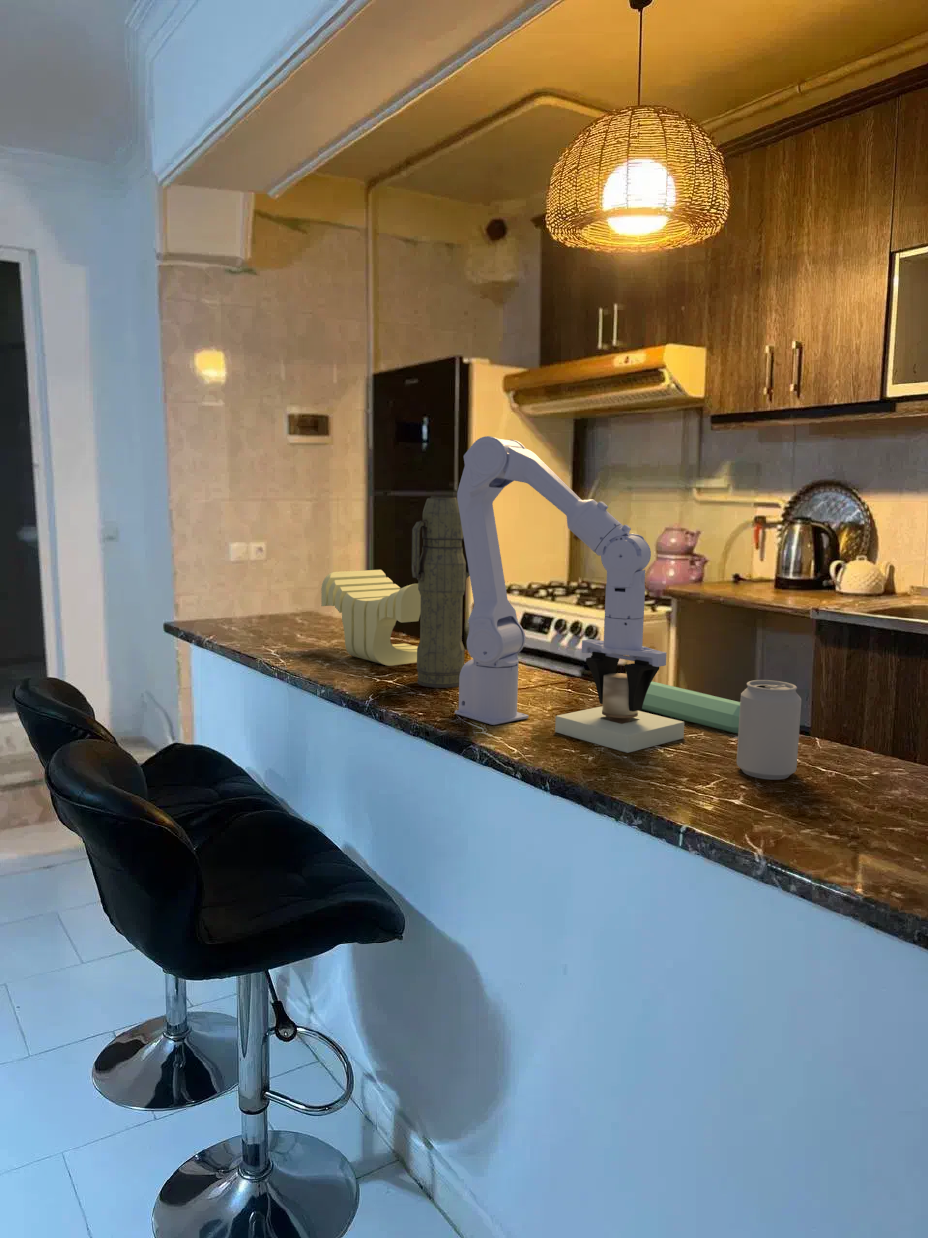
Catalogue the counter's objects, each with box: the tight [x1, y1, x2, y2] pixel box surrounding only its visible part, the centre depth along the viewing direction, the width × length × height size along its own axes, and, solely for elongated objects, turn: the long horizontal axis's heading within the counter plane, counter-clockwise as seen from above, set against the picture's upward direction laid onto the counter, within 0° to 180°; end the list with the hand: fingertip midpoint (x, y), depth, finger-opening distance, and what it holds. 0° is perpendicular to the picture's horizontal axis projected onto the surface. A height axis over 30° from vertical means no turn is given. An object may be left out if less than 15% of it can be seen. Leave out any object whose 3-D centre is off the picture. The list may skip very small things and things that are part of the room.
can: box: [736, 679, 802, 781], centre depth 119 cm, size 8×8×12 cm
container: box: [641, 680, 740, 734], centre depth 148 cm, size 6×6×25 cm
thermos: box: [411, 495, 470, 689], centre depth 170 cm, size 9×12×35 cm
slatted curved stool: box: [320, 569, 421, 667], centre depth 195 cm, size 30×16×18 cm, turn 40°
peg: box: [602, 672, 639, 724], centre depth 136 cm, size 5×5×8 cm
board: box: [554, 705, 685, 754], centre depth 137 cm, size 14×13×2 cm
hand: (620, 706), depth 136 cm, fingers closed on peg, 5 cm apart
